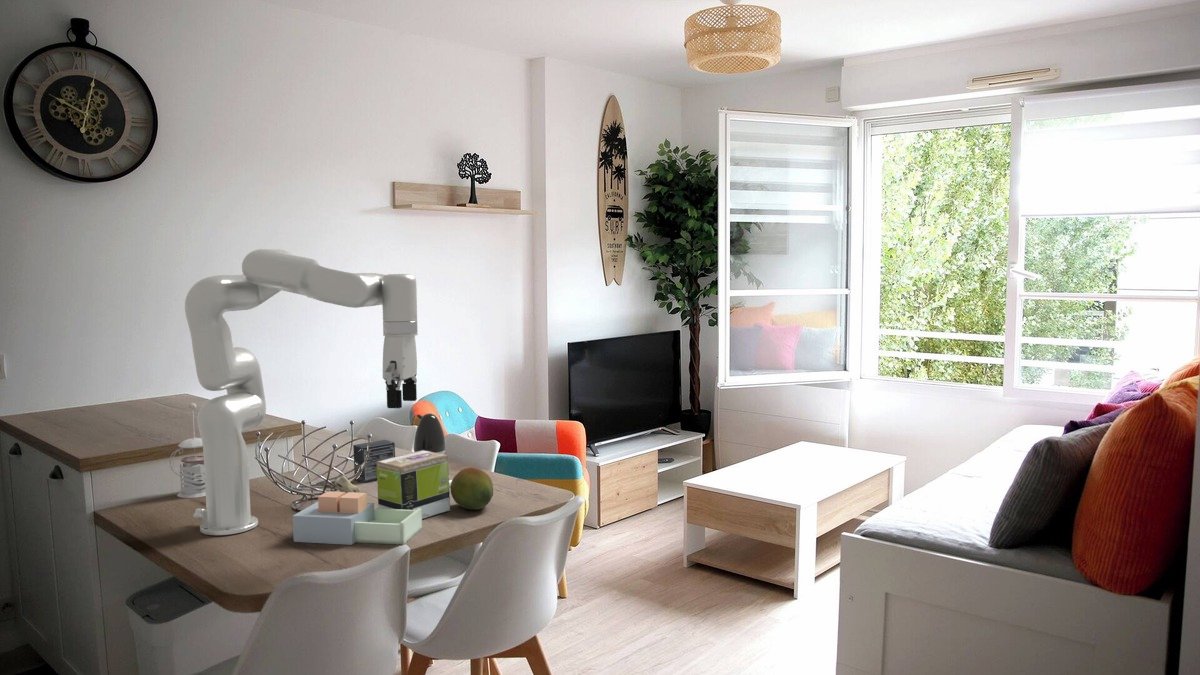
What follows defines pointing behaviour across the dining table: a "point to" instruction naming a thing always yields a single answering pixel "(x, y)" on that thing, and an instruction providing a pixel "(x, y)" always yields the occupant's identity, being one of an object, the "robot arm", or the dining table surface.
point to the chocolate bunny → (346, 485)
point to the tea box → (414, 483)
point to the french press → (191, 468)
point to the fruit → (472, 488)
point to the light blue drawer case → (328, 525)
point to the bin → (389, 526)
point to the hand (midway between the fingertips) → (402, 404)
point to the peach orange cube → (353, 502)
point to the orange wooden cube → (329, 501)
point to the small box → (372, 458)
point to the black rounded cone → (429, 435)
